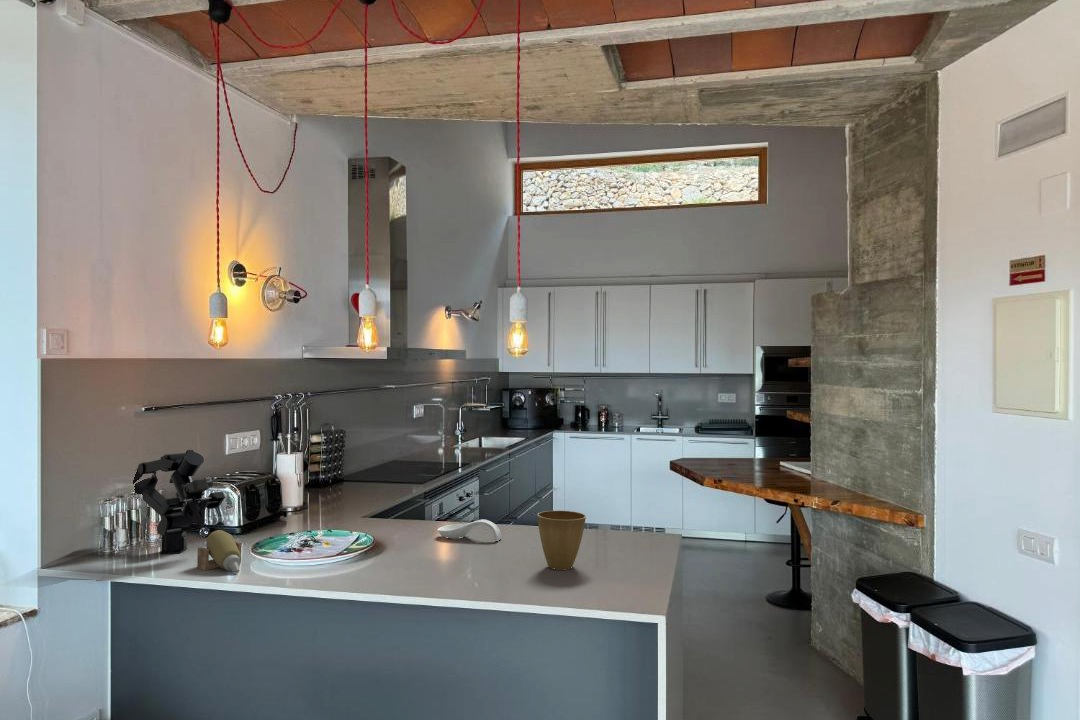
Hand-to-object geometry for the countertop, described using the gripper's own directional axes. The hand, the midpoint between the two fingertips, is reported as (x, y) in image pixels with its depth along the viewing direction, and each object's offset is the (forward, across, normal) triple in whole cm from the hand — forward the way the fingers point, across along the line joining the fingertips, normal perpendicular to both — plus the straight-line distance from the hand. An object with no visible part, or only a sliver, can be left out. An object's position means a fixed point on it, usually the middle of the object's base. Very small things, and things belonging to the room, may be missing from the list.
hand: (202, 524), depth 223 cm
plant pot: (+73, +62, -59) cm, 113 cm away
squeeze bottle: (+7, +1, -2) cm, 7 cm away
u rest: (+15, 0, 0) cm, 15 cm away
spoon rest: (+40, +74, -25) cm, 87 cm away
